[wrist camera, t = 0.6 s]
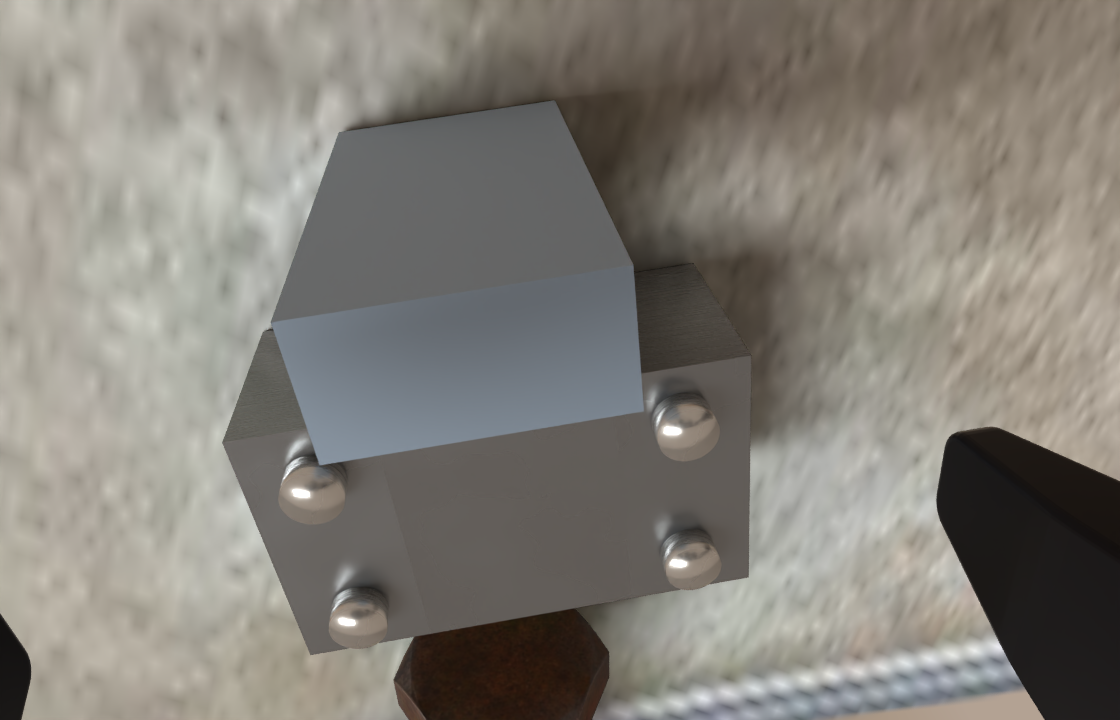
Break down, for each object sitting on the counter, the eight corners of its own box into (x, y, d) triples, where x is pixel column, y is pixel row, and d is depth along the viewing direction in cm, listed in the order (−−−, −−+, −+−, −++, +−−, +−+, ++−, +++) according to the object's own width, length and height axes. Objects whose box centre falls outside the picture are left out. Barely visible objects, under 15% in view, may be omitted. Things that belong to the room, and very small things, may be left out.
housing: (693, 263, 19) (761, 372, 15) (699, 463, 22) (757, 597, 18) (263, 331, 19) (214, 462, 15) (331, 525, 22) (306, 677, 18)
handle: (554, 100, 17) (633, 265, 10) (594, 447, 22) (666, 718, 15) (339, 132, 17) (271, 322, 10) (426, 475, 21) (421, 763, 15)
